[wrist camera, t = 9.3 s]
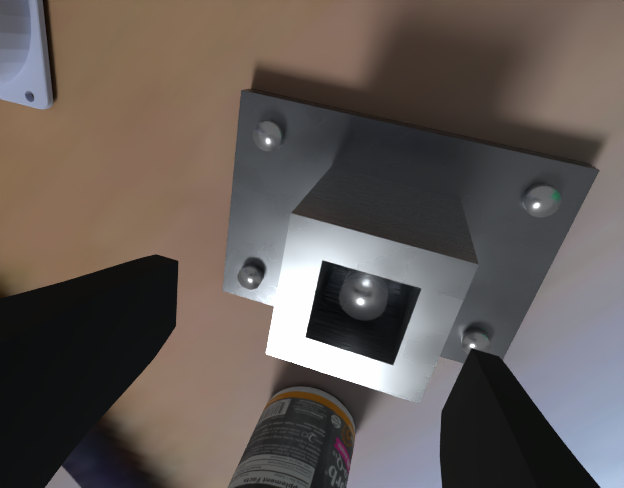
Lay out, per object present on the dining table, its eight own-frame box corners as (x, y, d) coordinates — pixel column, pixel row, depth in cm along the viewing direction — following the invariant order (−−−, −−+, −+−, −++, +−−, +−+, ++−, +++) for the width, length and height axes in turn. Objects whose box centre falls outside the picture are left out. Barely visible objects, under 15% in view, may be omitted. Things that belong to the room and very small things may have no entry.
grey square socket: (308, 273, 19) (265, 353, 14) (331, 165, 17) (290, 212, 12) (419, 306, 19) (418, 404, 13) (460, 198, 16) (478, 264, 11)
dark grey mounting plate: (230, 281, 22) (169, 351, 17) (250, 88, 18) (176, 100, 12) (492, 359, 20) (517, 466, 15) (589, 164, 16) (676, 217, 10)
